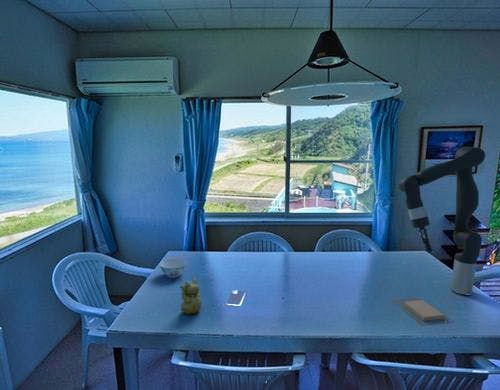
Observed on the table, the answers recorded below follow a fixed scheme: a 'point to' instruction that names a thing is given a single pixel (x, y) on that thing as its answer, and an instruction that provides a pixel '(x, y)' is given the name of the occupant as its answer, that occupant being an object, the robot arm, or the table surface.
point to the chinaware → (173, 266)
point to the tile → (423, 310)
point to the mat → (430, 322)
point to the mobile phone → (235, 298)
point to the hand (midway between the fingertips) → (429, 251)
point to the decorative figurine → (190, 297)
